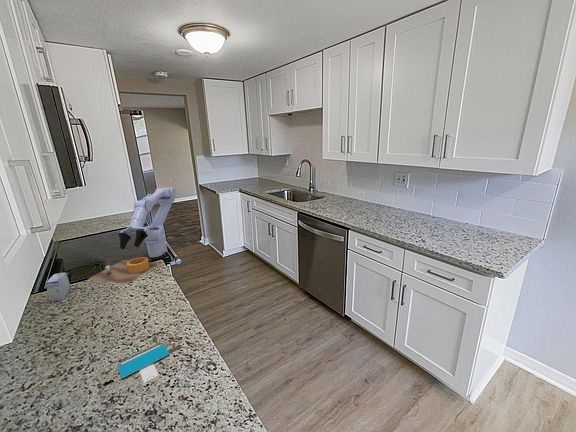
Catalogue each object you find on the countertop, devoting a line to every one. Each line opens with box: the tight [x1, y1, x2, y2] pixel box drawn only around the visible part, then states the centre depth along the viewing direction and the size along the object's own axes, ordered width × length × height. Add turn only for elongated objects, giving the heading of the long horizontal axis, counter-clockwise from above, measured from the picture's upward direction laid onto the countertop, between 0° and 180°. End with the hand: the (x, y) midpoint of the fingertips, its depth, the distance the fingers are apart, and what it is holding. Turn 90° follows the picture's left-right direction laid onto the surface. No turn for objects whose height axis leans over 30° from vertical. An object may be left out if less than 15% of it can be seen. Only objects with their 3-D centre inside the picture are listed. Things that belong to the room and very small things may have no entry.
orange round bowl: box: [126, 256, 150, 273], centre depth 128 cm, size 9×9×4 cm
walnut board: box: [87, 259, 160, 284], centre depth 127 cm, size 20×22×2 cm
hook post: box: [104, 264, 112, 275], centre depth 123 cm, size 2×2×4 cm
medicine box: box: [45, 272, 72, 302], centre depth 109 cm, size 8×4×9 cm, turn 21°
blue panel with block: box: [117, 342, 182, 384], centre depth 74 cm, size 20×12×2 cm, turn 130°
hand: (129, 247), depth 121 cm, fingers open, 7 cm apart
